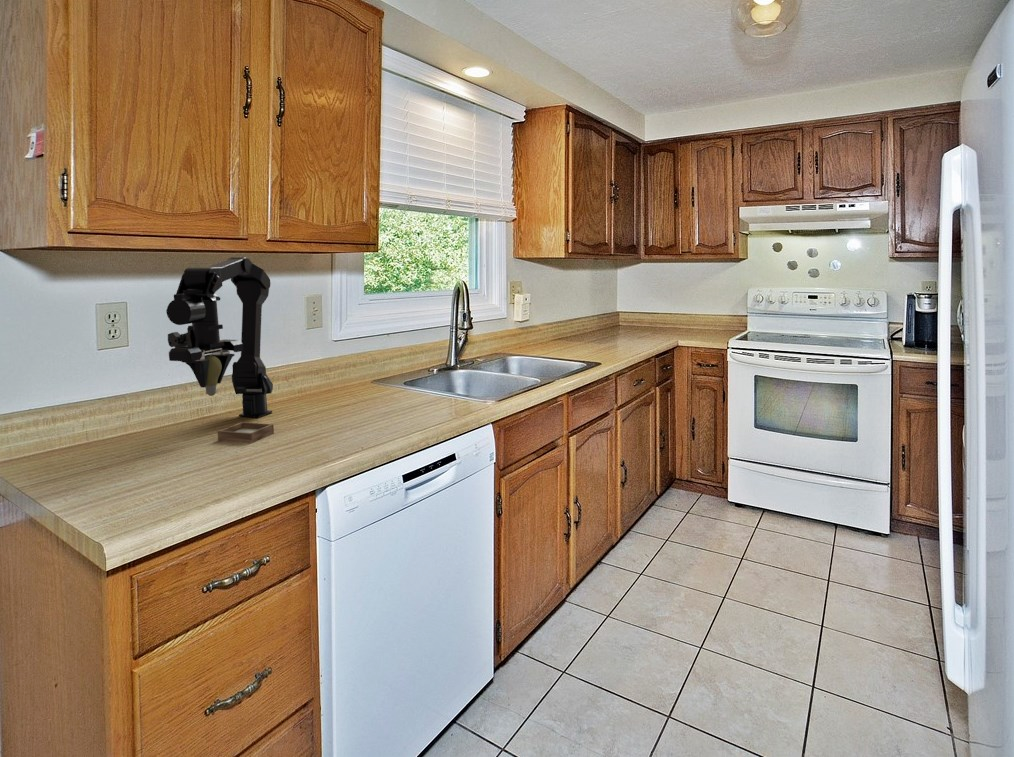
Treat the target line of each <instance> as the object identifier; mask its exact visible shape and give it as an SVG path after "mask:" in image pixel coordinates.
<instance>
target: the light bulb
mask: <svg viewBox="0 0 1014 757" xmlns="http://www.w3.org/2000/svg"><path fill="white" fill-rule="evenodd" d="M204 356H205V359H209V367H208V375H207V382H206V387H204V388H205V394H206V395H208V396H209V397H213V396H215V395H216V394H217V392H218V390H217V385H218V384H217V382H218V377H219V375H220V373H221V369H222V365H221V362H220V360H219V359H218V358H217V357H215V356H213V355H208V354H205V355H204Z"/></svg>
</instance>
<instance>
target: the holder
mask: <svg viewBox="0 0 1014 757" xmlns="http://www.w3.org/2000/svg"><path fill="white" fill-rule="evenodd" d="M273 434H275V427H274V424H273V423H259V422H246V421H245V422H244V421H241V422H238V423H236V424H233V425H231V426H228V427H226V428H223V429H220V430H217V441H218V442H219V441H220V442H233V443H234V442H235V443H243V444H244V443H246V444H253V443H255V442H256V441H259V440H261V439H264V438H266V437H269V436H271V435H273Z"/></svg>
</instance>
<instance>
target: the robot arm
mask: <svg viewBox="0 0 1014 757" xmlns="http://www.w3.org/2000/svg"><path fill="white" fill-rule="evenodd" d="M228 280H230V281H231V283H232V284H233V285H234V286H235V289H236V295H237V296H238V298H239V300H240V301H241V303H242V308H241V309H242V312H241V315H242V316H241V339H227V338H226V339H220V337H221V336H220V330H222V329H224V327H223V324H222V323H221V324H219V313H218V301H219V302H220V301H221V297H220V296H219V295H218V294H216V292H217V291H218V290H220V289H221V288H222V287H223V282H226V281H228ZM270 288H271V279H270V277H269V276H268V274H267V273H266V272H265V270H264V269H263V268H261V267H259V266H258V265H256V264H254V263H253V262H252V261H251V260H250V259H249V258H248V257H243V256H241V257H237V256H236V257H230V258H227V259H226V260H224V261H221V262H217V263H215V264H212V265H210V266H204V267H203V266H200V267H199V266H198V267H197V266H196V267H187V268H185V270H183V274H182V275H181V278H180V282H179V284H178V287H177V290H176V292H175V294H173V300H171V301H170V302H169V303H168V305H167V306H166V307H167V308H166V316H167V318H168V320H169V321H170V322H171V323H173V324H175V325H177V326H183V325H187V326H188V327H187V331H186V332H184V333H179V332H178V331H174V332H170V333H167V342H168V346H169V347H170V350H169V351H168V360H169V361H170V362H181V363H185V364H186V365H188V366H189V367H190V369H191V371H192V373H193V375H194V376H195V379H196V381H197V383H198V384H199V387H200V388H203V389H204V388H205V387H206V382H207V375H208V367H209V359H205V356H204V355H213V356H215V357H217V358H218V359H219V360H220V362H221V365H222V369H221V373H220V375H219V377H218V382H217V385H218V384H221V383H222V381H223V378H224V376H225V373H226V371H227V368H228V366H229V365H230V363H231V360H232V359H233V357H235V353H239V352H240V357H239V358H238V360H237V361H234V362H233V363H232V373H231V383H232V386H233V390H234V392H235V393H234V394H235V395H241V398H242V399H241V400H242V401H241V405H242V413H239V414H238V416H239V417H248V418H261V417H264V416H267V415H270V414H272V413H273V410H268V403H267V402H268V401H267V398H268V397H267V395H269V394H272V392H273V388H274V384H273V382H272V381H271V379H270V377H269V376H268V375H267V367H266V365H265V364H264V362H263V360H262V358H261V337H262V335H261V334H262V311H263V310H262V308H263V304H264V303H265V302H266V300H267V299H268V297H269V294H270V293H269V292H270ZM188 324H191V325H188ZM230 351H232V352H234V353H231V352H230Z"/></svg>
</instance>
